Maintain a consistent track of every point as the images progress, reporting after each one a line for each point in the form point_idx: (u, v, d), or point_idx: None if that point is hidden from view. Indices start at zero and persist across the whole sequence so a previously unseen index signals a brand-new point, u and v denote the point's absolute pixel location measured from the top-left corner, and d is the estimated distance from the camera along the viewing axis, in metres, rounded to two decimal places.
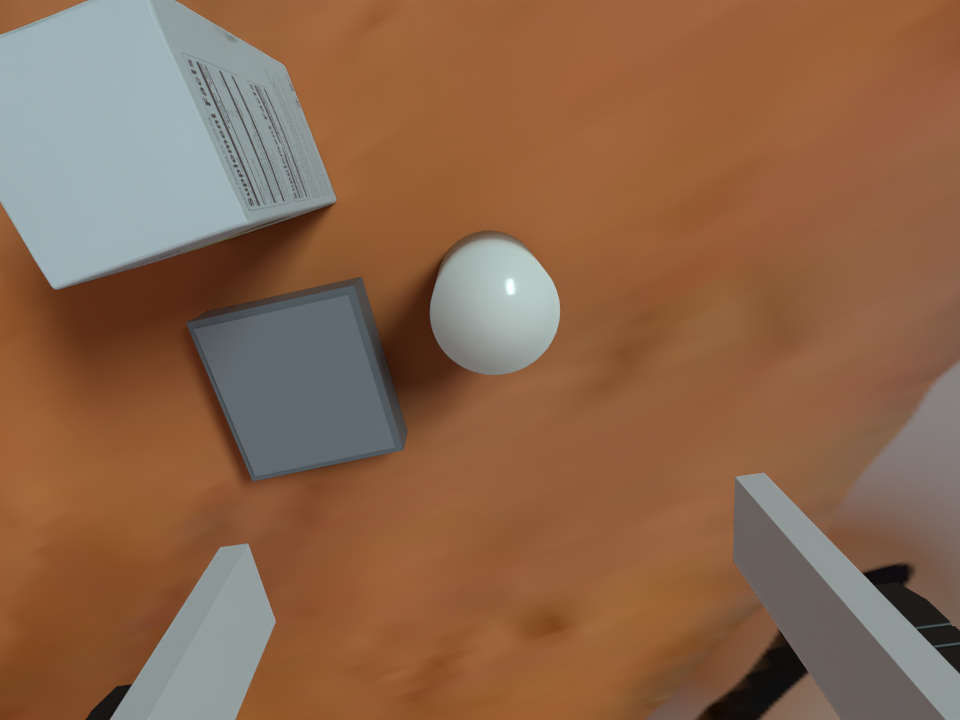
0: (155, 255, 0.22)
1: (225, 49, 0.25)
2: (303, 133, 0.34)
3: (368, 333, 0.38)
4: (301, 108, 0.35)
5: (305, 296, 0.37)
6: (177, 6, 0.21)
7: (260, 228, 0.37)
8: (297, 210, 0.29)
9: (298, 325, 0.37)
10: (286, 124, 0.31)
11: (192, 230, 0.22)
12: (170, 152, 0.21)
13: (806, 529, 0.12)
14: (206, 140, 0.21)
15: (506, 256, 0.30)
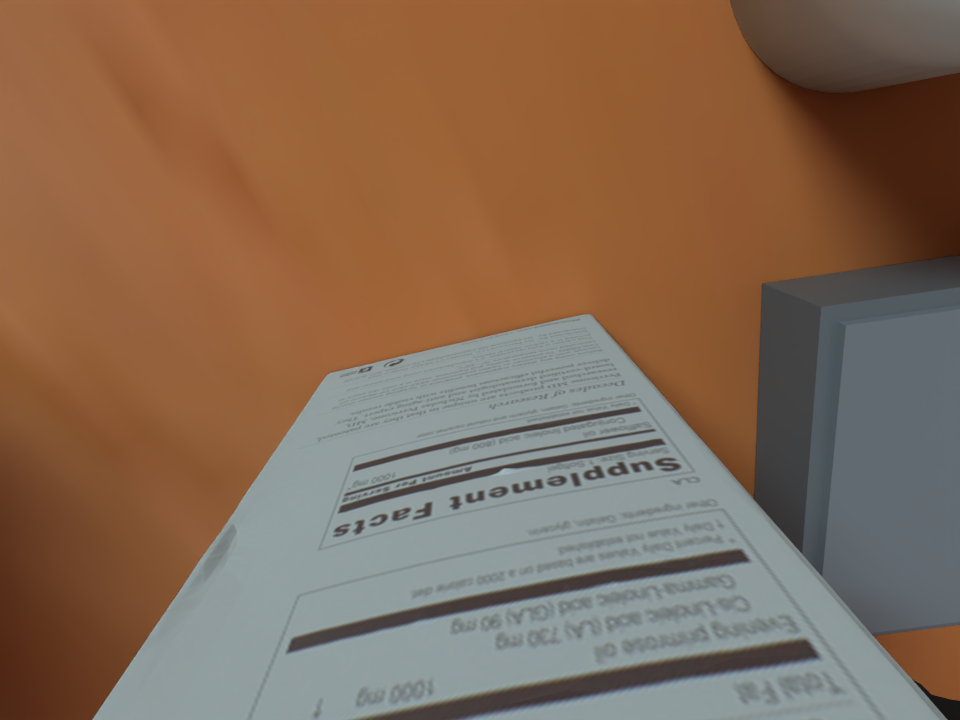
0: None
1: (223, 611, 0.08)
2: (456, 367, 0.15)
3: (953, 287, 0.14)
4: (405, 355, 0.17)
5: (812, 421, 0.15)
6: None
7: None
8: (727, 473, 0.08)
9: (879, 448, 0.15)
10: (440, 418, 0.12)
11: None
12: None
13: None
14: None
15: None
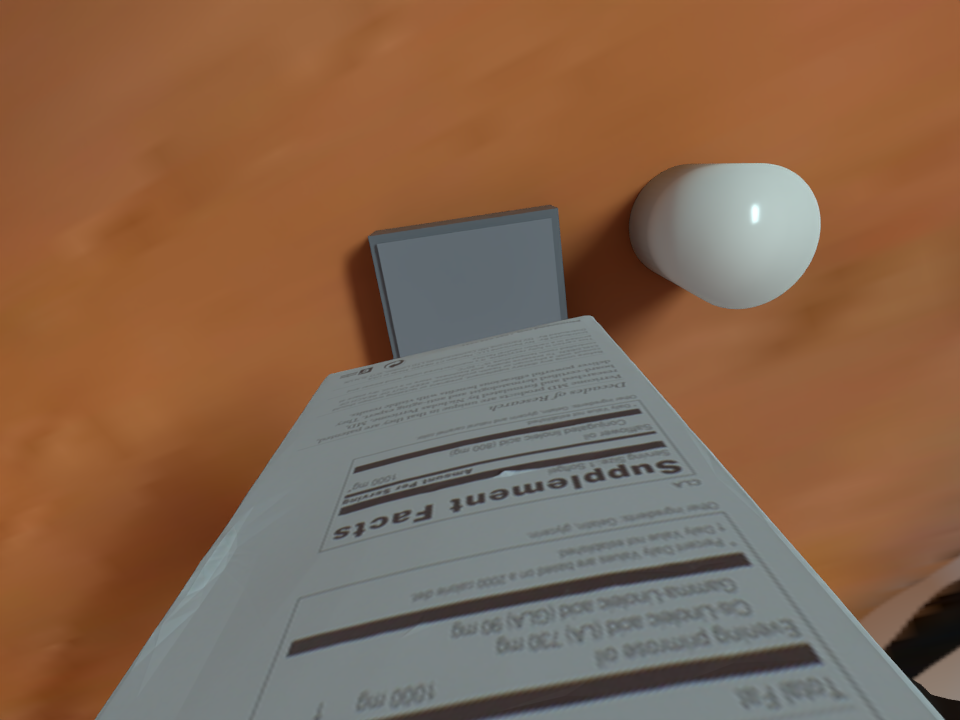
0: None
1: (223, 614, 0.08)
2: (456, 368, 0.15)
3: (562, 263, 0.35)
4: None
5: (503, 216, 0.34)
6: None
7: None
8: (728, 475, 0.08)
9: (491, 248, 0.34)
10: (441, 420, 0.12)
11: None
12: None
13: None
14: None
15: (776, 173, 0.28)
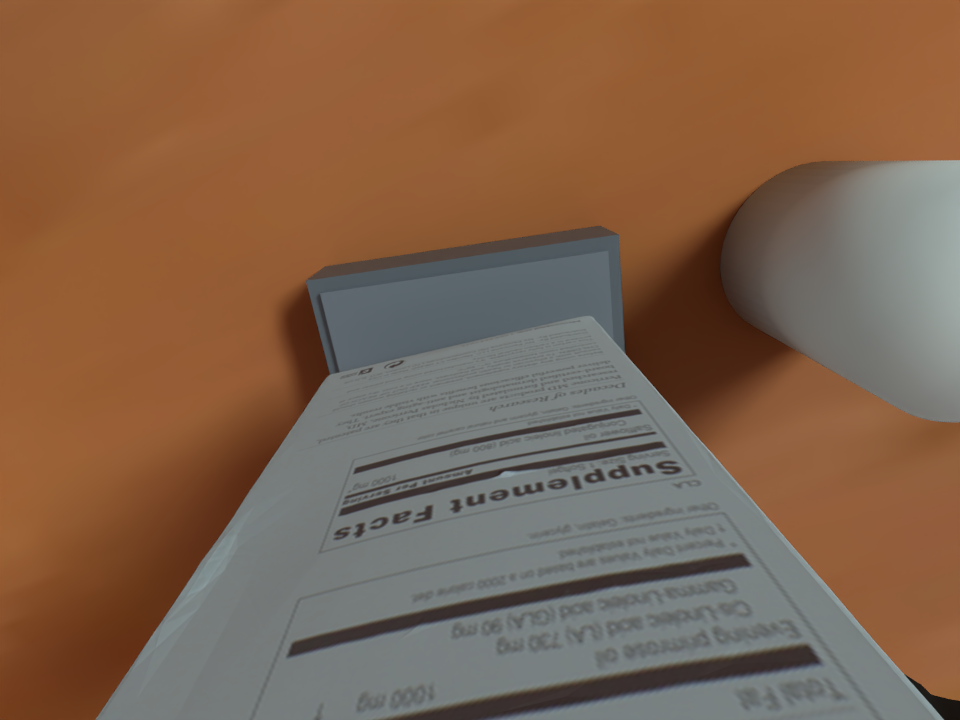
0: None
1: (223, 614, 0.08)
2: (456, 368, 0.15)
3: None
4: (405, 357, 0.17)
5: (528, 248, 0.20)
6: None
7: None
8: (728, 476, 0.08)
9: (509, 299, 0.21)
10: (441, 420, 0.12)
11: None
12: None
13: None
14: None
15: None
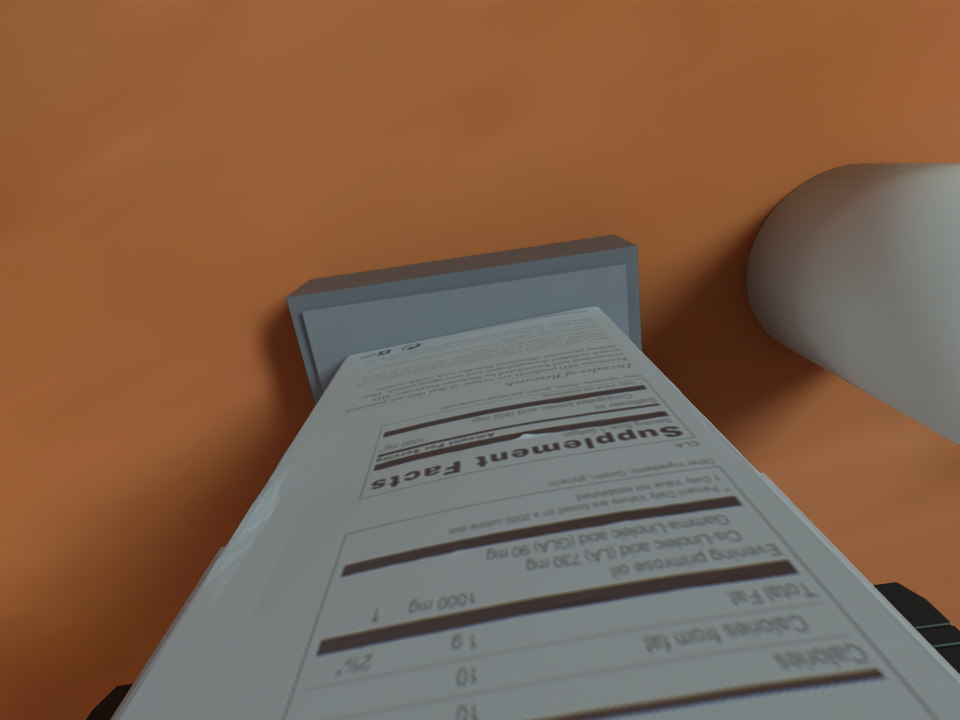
0: None
1: (277, 547, 0.09)
2: (472, 350, 0.16)
3: None
4: None
5: (535, 261, 0.18)
6: None
7: None
8: (723, 438, 0.09)
9: (514, 318, 0.18)
10: (461, 393, 0.13)
11: None
12: None
13: None
14: None
15: None
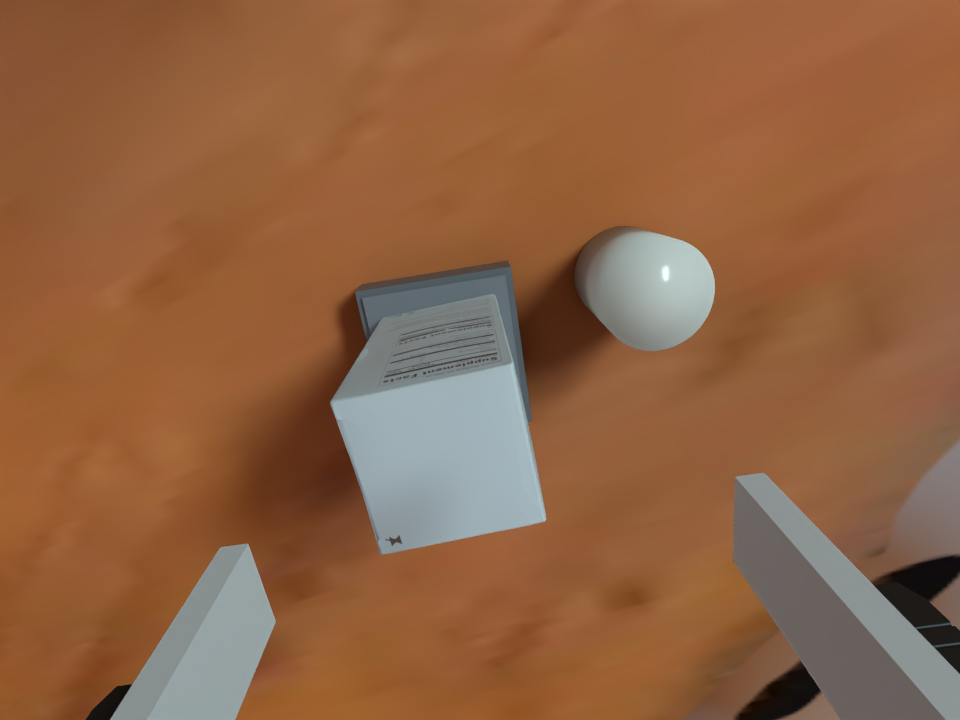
0: (529, 441, 0.27)
1: (373, 357, 0.31)
2: (436, 311, 0.39)
3: (516, 311, 0.42)
4: None
5: (465, 274, 0.41)
6: (345, 382, 0.28)
7: None
8: (501, 325, 0.32)
9: (457, 299, 0.41)
10: (429, 323, 0.36)
11: (512, 408, 0.26)
12: (450, 410, 0.26)
13: (806, 529, 0.12)
14: (443, 381, 0.25)
15: (675, 245, 0.35)
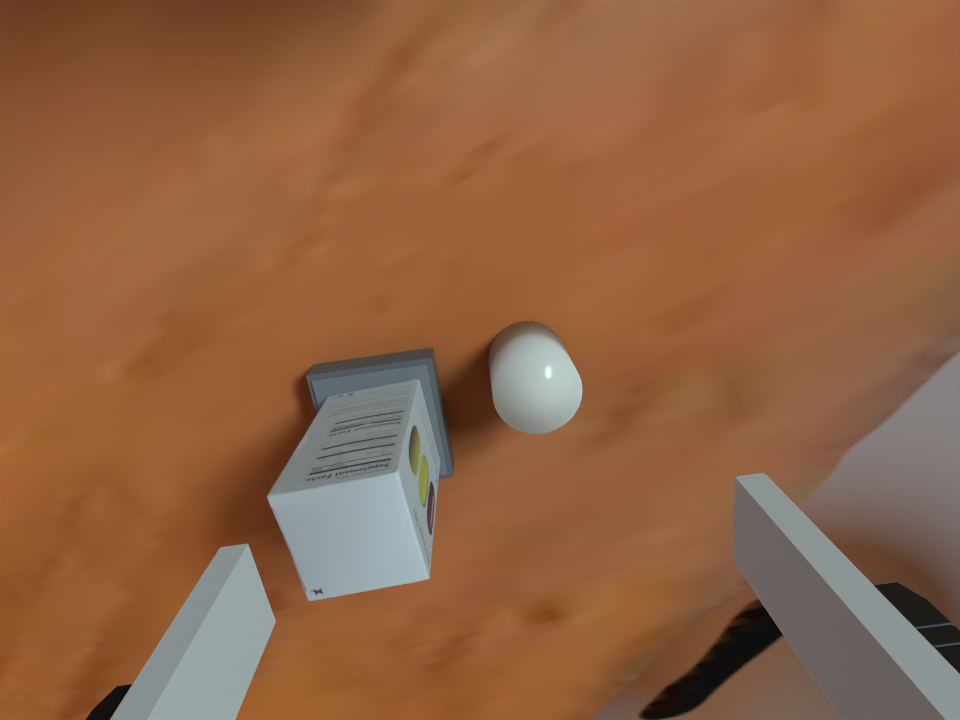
0: (413, 524, 0.37)
1: (308, 447, 0.41)
2: (368, 397, 0.49)
3: (437, 391, 0.52)
4: (354, 391, 0.51)
5: (395, 363, 0.51)
6: (281, 476, 0.38)
7: (432, 433, 0.52)
8: (407, 424, 0.42)
9: (388, 383, 0.51)
10: (358, 412, 0.45)
11: (398, 502, 0.36)
12: (354, 503, 0.36)
13: (806, 529, 0.12)
14: (347, 483, 0.35)
15: (549, 356, 0.44)
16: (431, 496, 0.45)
